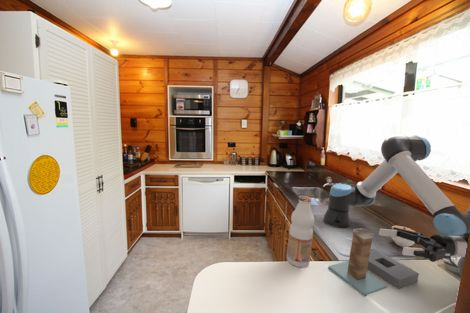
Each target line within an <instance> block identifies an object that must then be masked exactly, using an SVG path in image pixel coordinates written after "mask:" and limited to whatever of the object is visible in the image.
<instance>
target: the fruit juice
mask: <svg viewBox="0 0 470 313" xmlns="http://www.w3.org/2000/svg"><path fill="white" fill-rule="evenodd" d="M311 203H312V197H310V196H307V195H299V196H298V203H297V205H296V207H295V209H294V210H293V211H292V212H291V215H290V216H291V217H290V218H291V224H290V226H289V231H288V241H287V249H286V261H288V263H289V264H290V265H291V266H294V267H296V268H307V267H308V266H309V264H310V262H311V254H312V245H313V239H314V237H313V236H314V229H313V226H314V224H315V215H314V214H313V210H312V207H311Z"/></svg>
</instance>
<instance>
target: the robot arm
mask: <svg viewBox="0 0 470 313" xmlns="http://www.w3.org/2000/svg"><path fill="white" fill-rule="evenodd" d="M431 147H432V146H431V143H430V142H429V140H428V139H427V138H425V137H423V136H419V135H404V134H393V135H390V136H388V137H387V138H385V139H384V140H383V142H382V144H381V147H380V151H381V155H382V157H383V159H384V160H383V161H382V162H381V163H380V164H379V165H378V166H377V167H376V168H375V169H374V170H373V171H372V172H371V173H370V174H369V175H368V176H367V177H366V178H365V179H364V180H363V181H359V182H357V183H356V184H355V185H354V186H351V185H350V184H345V183H336V184H335V183H334V184H333V185H332V186H331V187H330V191H329V199H328V205H327V209H326V211H325V214H324V215H323V221H324V223H325V224H327V225H329V226H331V227H335V228H339V229H347V228H350V227H351V223H352V222H351V219H350V207H368V206H371V205H372V204H374V202H376V196H377V192H378V191H379V190H380V189H381V188H382V187H383V186H384V185H385V184H387V183H388V182H389V181H390V180H391V179H392V178H393V177H395V176H396V175H397V174H399V175H400V176H401V178H402V179H403V180H404V181H405V182H406V184H407V185H408V186H409V188H411V190H412V191H413V193H414V194H415V195H416V196H417V197H418V199H419V200H420V202H422V203H423V205H424V206H425V207H426V209H427V210H428V211H429V212H430V213H431V214H432V216H433V217H434V218H433V225H434V226H433V227H434V228H435V229H436V231H437V232H438V233H440V234H438V233H437V234H433V235H431V236H427V235H424V233H423V232H417V231H415V232H413V231H409V230H405V229H400V228H396V227H394V229H393V230H392V229H390V228H389V229H387V228H379V232H378V236H381V237H391V238H392V237H396V236H398V237H401V238H404V239H407V240H411V241H414V242H415V243H414V244H417V245H420V246H422V247H423V248H422V247H412V246H409V247H402V252H401V255H402V256H410V257H411V256H412V257H421V258H424V259H428V260H429V261H430V262H432V263H433V262H434V263H435V262H437V261H440V260H442V259H450V257H452V258H456V257H458V258H466V257H465V254H466V248H467V243H468V238H469V235H470V206H468V208H467V210H466V212H461V211H460V210H459V209H458V208H457V206H455V205H454V203H453V202H452V201H451V200H450V199H449V198H448V197H447V196H446V194H445V193H444V192H443V190H441V189H440V188H439V186H438V185H437V184H436V183H435V182H434V181H433V180H432V178H430V176H429V175H428V174H427V173H426V172H425V171H424V169H423V168H422V167H421V166H420V165H419V164H418V163H417V161H423V160H426V159H427V158H428V157H429V156H430V154H431V152H432V149H431Z"/></svg>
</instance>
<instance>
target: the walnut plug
mask: <svg viewBox="0 0 470 313" xmlns="http://www.w3.org/2000/svg"><path fill="white" fill-rule="evenodd" d="M373 238H374V232H371V231H369V230H367V229H365V228H363V227H359V228H353V230H352V240H351V245H350V246H351V247H350V252H349V258H348V261H349V265H348V271H347V273H348V274H349V275H351V276H352V277H353V278H355V279H356V280H360V279H364V278H366V273H368V269H367V267H368V261H369V255H370V249H372V242H373Z"/></svg>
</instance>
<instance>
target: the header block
mask: <svg viewBox="0 0 470 313" xmlns="http://www.w3.org/2000/svg"><path fill="white" fill-rule="evenodd" d="M367 271H369V272H371V273H373V274H374V275H375V276H377V277H378V278H380V279H382V280H383V281H385V282H387V284H389V285H391V286H392V287H394V288H395V289H402V288H405V287H406V286H407V287H408V286H409V285H412V284H415V283H417V282H418V279H419V275H420V272H417V271H416V270H414V269H412V268H410V267H409V266H407V265H405V264H403V263H401V262H399V261H397V260H396V259H394V258H392V257H390V256H388V255H387V254H384V253H382V252H381V251H379V250H377V249H375V248H371V249H370V255H369V261H368V267H367Z"/></svg>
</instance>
